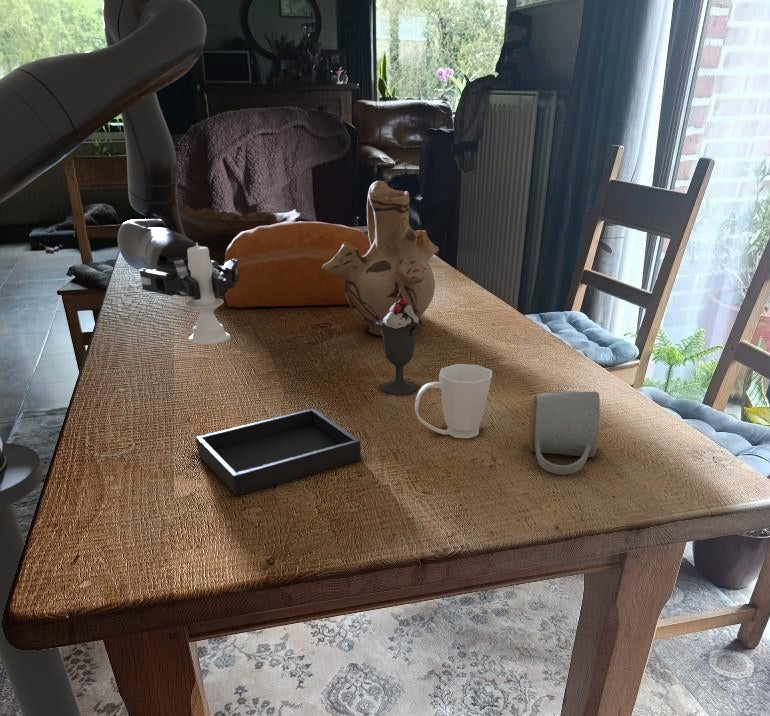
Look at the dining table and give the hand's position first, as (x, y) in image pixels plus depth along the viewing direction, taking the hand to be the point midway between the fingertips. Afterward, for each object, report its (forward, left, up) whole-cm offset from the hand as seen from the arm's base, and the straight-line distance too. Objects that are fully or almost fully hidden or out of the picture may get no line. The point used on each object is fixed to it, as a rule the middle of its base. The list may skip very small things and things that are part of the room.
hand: (209, 289), depth 87 cm
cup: (+23, -20, -18) cm, 35 cm away
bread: (+38, +52, -18) cm, 67 cm away
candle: (0, +3, -7) cm, 8 cm away
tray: (+1, -14, -18) cm, 22 cm away
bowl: (+40, +93, -18) cm, 103 cm away
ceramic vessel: (+40, +22, -18) cm, 49 cm away
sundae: (+26, -3, -18) cm, 32 cm away
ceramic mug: (+30, -33, -18) cm, 48 cm away
